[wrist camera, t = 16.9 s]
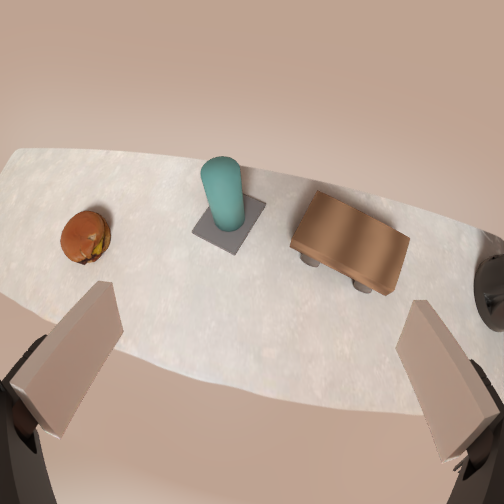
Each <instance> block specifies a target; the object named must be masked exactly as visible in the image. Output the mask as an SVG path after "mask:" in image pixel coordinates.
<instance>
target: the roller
mask: <svg viewBox="0 0 504 504" xmlns="http://www.w3.org/2000/svg"><path fill="white" fill-rule="evenodd" d="M201 179H202V182H203V186H204V189H205V192H206V196H207V199H208V203H209V206H210V209H211V213H212V216H213V220H214V223H215V225H216V226H217V228H219V229H220V230H222V231H225V232H232V231H235V230H237V229H239V228H240V227H241V226H242V225H243V223H244V221H245V213H244V203H243V193H242V183H241V173H240V166H239V164H238V163H237V162H236V161H235V160H234V159H232V158H230V157H224V156H221V157H216V158H212V159H210V160H209V161H207V162H206V163H205V164H204V165H203V167H202V169H201Z"/></svg>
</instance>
